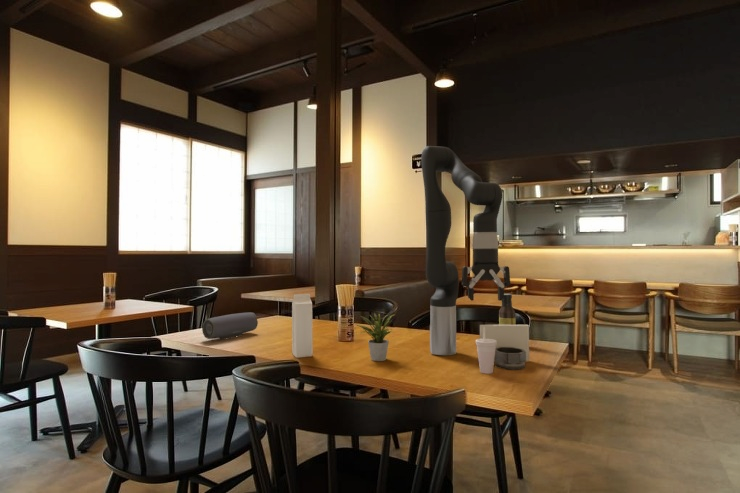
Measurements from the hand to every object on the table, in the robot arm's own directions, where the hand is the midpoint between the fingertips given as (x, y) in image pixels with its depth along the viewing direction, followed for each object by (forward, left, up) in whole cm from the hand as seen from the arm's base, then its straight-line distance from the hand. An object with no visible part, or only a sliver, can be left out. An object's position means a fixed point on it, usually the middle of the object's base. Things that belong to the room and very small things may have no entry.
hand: (485, 300), depth 129 cm
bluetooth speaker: (-99, +51, -22) cm, 114 cm away
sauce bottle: (+17, +38, -22) cm, 47 cm away
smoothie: (0, 0, -22) cm, 22 cm away
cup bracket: (+9, +7, -22) cm, 25 cm away
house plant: (-33, +16, -22) cm, 43 cm away
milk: (-61, +20, -22) cm, 68 cm away
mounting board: (+9, +13, -22) cm, 27 cm away
